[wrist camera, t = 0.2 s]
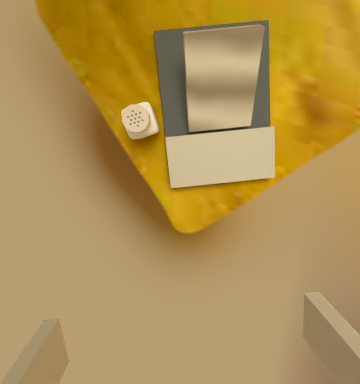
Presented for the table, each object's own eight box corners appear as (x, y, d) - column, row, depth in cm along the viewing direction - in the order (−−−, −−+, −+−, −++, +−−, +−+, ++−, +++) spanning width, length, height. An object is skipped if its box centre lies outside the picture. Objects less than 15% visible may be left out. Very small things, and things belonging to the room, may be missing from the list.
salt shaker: (161, 132, 37) (157, 130, 28) (136, 140, 37) (125, 140, 28) (152, 106, 36) (145, 95, 27) (127, 114, 36) (112, 106, 27)
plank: (183, 31, 28) (184, 34, 27) (260, 24, 28) (264, 26, 27) (187, 126, 36) (189, 132, 35) (247, 120, 36) (250, 125, 35)
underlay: (154, 34, 34) (153, 25, 32) (265, 23, 34) (273, 14, 32) (170, 185, 39) (170, 188, 36) (268, 174, 39) (275, 177, 37)
